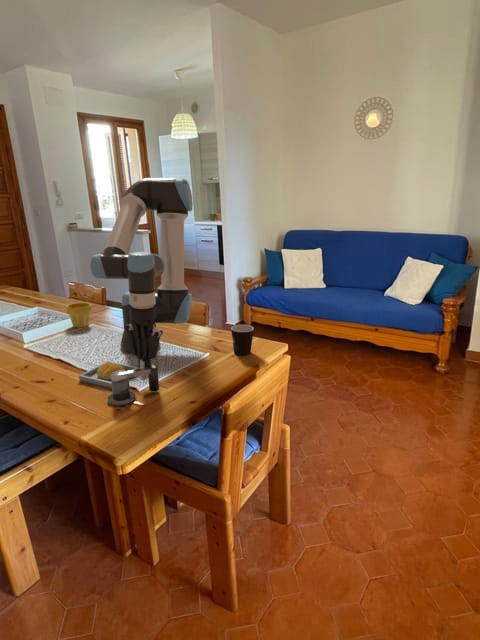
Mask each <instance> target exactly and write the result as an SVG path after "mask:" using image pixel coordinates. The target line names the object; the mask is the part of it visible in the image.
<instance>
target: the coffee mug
mask: <svg viewBox="0 0 480 640" xmlns="http://www.w3.org/2000/svg"><path fill="white" fill-rule="evenodd" d="M230 330H231V339H232V346H233V354H234V355H235V356H239V357H240V356H241V357H245V356H250V355H251V352H252V344H253V338H254V330H255V328H254V326H252V325H247V324H238V325H237V324H236V325H234V326H232V327H231V328H230Z"/></svg>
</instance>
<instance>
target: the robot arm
mask: <svg viewBox="0 0 480 640" xmlns="http://www.w3.org/2000/svg"><path fill="white" fill-rule="evenodd" d="M119 207H120V208H119V211H118V213H117V217H116V219H115V222H114V225H113V227H112V229H111V232H110V234H109V237H108V240H107V242H106V244H105V248H104V249H103V252H102V254H101V253H99V254H98V253H97V254H94V255H92V256H91V258H90V262H89V266H90V267H89V268H90V272H91V274H92V276H93V277H94V278H96V279H104V280H111V279H112V280H114V279H115V280H124V279H125V280H126V279H127V280H128V291H125V292H124V293H122V295H121V304H120V305H121V310H122V311H121V312H122V323H123V331H122V336H121V341H120V350H121V351H122V352H124V353H127V354H132V356H133V357H136V358H137V359H138V367H139V368H144V367H148V366H150V365H152V362H151V360H154V359H156V358H157V355H158V350H159V348H160V346H161V343H160V339H161V336H162V335H163V333H164V332H163V330H162V329H158V328H157V325H156V324H174V325H176V324H185V323H187V322H188V321H189V320H190V317H191V313H192V309H193V294H192V293H190V292H189V288H188V287H187V285H185V220H186V219H187V218H188V217H189V212H191V211H193V195H192V190H191V186H190V184H189V181H188V179H185V178H180V177H179V178H178V177H144V178H142V179H139V180H137V181H135V182H134V183H132V184H131V185H130V186H129V187H127V189H126V190H125V191H124V193H123V194H122V195H121V198H120V201H119ZM147 211H156V216H157V217H158V218H159V219H160V255H159V254H157V253H152V252H149V251H135V252H131V253H130V250H131V247H132V244H133V241H134V239H135V235H136V233H137V230H138V227H139V224H140V221H141V219H142V217H144V216H145V214H146V212H147ZM160 277H161V279H160V280H161V283H160V285H159V286H158V287H157V289H156V279H158V278H160ZM156 290H157V292H156ZM147 379H149V378H148V374H146V375H141V376H140V380H141V381H145V380H147Z"/></svg>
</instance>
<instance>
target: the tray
mask: <svg viewBox="0 0 480 640" xmlns="http://www.w3.org/2000/svg"><path fill="white" fill-rule="evenodd" d="M105 363H114V364H118V365H121V366H123V367H124V369H125V371H129V370H134V369H139V366H134V365H128V364H123V363H119V362H116V361H110V360H107V361H105V362H102V363H101V364H99V365H97V366H94V367H93V368H92V369H89V370H87V371H85V372H83V373H82V374H79V375H78V381H79V382H80V383H85V384H88V385H94V386H97V387H102V388H106V389H110V390H112V383H111V380H104V379H101V378H99V377H98V375H97V370H98V368H99V367H100V366H101V365H103V364H105ZM130 379H131V378H129V380H130Z"/></svg>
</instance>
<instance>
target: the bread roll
mask: <svg viewBox="0 0 480 640" xmlns="http://www.w3.org/2000/svg"><path fill="white" fill-rule="evenodd" d="M104 363H105V362H104ZM102 364H103V363H102ZM100 365H101V364H100ZM118 370H125V369H124V367H123V366H121V365H118V364H114V363H105V364H103V365H101V366H100V367H99V368H98V370H97V375H98V377H99V378H101V379H104V380H111V373H113V372H115V371H118Z"/></svg>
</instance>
